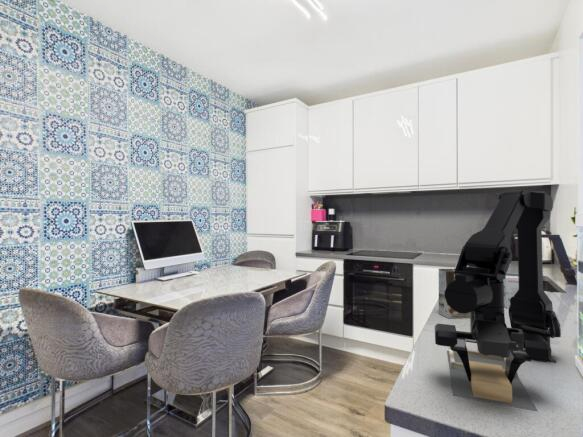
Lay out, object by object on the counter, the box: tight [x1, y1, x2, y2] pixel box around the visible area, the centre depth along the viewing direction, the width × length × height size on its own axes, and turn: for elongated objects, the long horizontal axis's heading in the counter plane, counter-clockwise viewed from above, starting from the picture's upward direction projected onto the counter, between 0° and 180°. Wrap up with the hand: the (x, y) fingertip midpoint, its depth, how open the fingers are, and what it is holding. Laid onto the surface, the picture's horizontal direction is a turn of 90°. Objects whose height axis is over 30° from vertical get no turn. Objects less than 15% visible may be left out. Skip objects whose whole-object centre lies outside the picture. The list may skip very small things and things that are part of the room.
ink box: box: [503, 275, 519, 310], centre depth 117 cm, size 9×5×12 cm, turn 67°
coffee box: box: [438, 268, 470, 319], centre depth 109 cm, size 9×6×16 cm
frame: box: [448, 347, 518, 378], centre depth 71 cm, size 9×12×1 cm
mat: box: [446, 350, 539, 412], centre depth 66 cm, size 22×13×1 cm, turn 156°
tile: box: [469, 361, 512, 404], centre depth 61 cm, size 9×6×3 cm, turn 156°
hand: (488, 383), depth 61 cm, fingers closed on tile, 6 cm apart
